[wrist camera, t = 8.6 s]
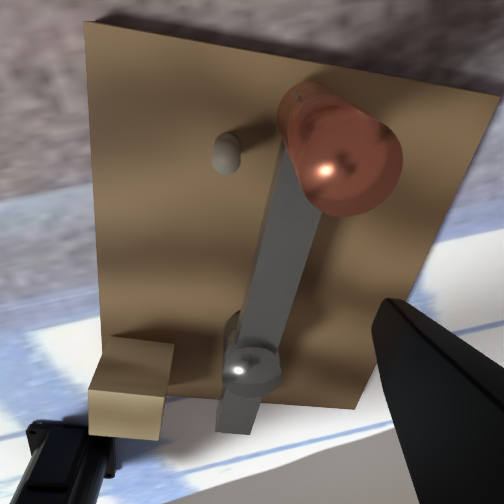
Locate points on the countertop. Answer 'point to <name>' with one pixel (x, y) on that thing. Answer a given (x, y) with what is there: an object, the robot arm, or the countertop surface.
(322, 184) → the lever
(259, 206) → the board
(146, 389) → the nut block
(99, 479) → the robot arm
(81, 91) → the countertop surface
